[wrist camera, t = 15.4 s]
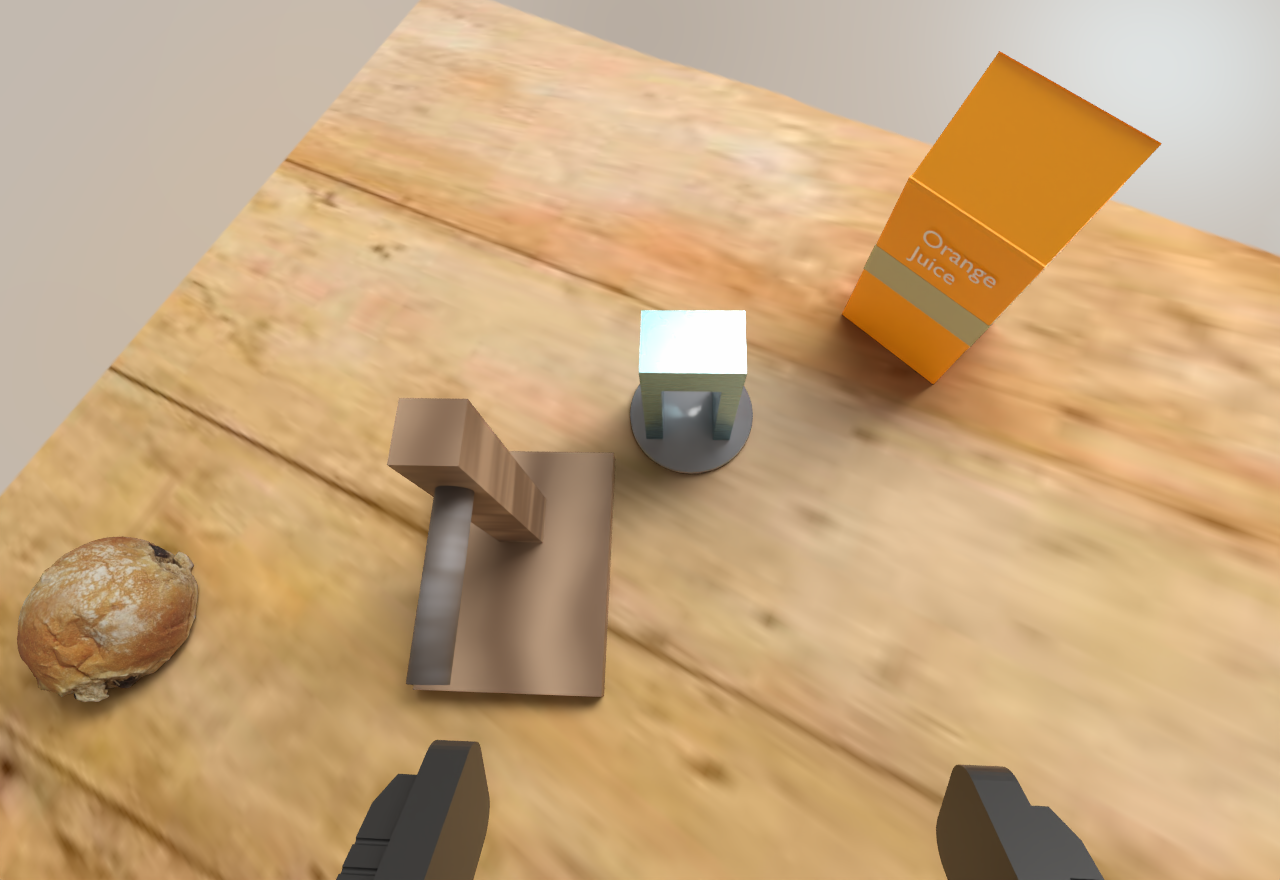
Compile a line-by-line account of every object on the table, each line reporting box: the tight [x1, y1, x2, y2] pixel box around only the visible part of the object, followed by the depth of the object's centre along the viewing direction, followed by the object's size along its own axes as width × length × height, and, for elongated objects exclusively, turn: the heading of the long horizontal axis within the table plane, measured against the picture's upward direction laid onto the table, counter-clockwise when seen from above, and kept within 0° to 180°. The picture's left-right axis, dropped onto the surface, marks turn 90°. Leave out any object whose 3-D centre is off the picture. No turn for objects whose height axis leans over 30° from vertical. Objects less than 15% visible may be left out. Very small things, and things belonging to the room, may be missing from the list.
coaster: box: [630, 385, 753, 474], centre depth 45 cm, size 9×9×1 cm
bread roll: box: [17, 537, 198, 702], centre depth 41 cm, size 10×10×8 cm
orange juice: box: [842, 51, 1161, 385], centre depth 38 cm, size 8×9×20 cm
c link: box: [639, 310, 747, 440], centre depth 40 cm, size 6×4×11 cm, turn 88°
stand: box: [387, 398, 615, 697], centre depth 34 cm, size 12×16×19 cm
